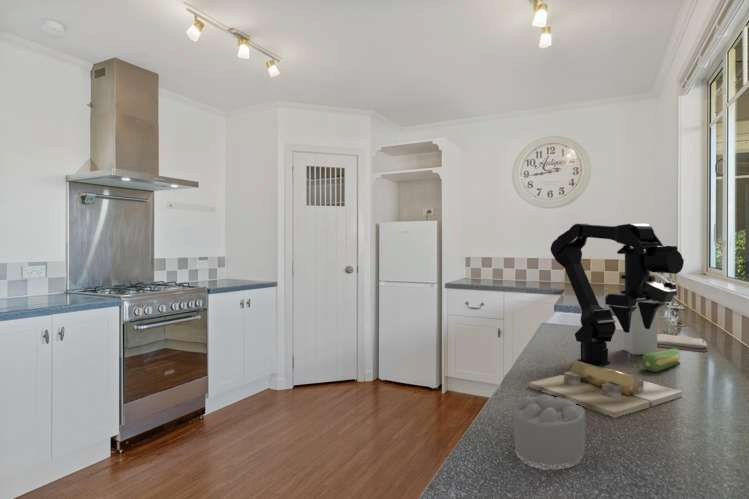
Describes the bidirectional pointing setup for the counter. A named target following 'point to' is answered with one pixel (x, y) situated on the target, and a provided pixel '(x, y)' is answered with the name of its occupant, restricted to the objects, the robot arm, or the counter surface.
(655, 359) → the edible corn
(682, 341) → the washcloth
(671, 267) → the robot arm
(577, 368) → the hinge pin
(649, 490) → the counter surface
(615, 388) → the hinge leaves
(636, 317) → the milk carton
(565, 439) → the lumpy-topped squat cylinder
